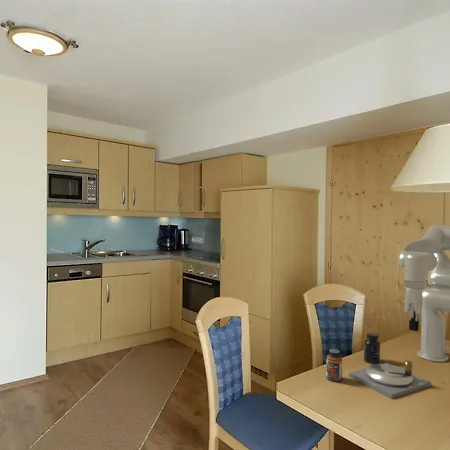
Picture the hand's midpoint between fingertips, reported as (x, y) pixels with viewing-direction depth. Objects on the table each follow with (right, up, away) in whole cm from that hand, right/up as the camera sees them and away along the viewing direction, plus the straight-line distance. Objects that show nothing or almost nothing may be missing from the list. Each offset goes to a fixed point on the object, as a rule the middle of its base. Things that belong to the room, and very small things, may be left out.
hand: (413, 330), depth 147 cm
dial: (-11, -17, -3) cm, 21 cm away
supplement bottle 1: (-32, -19, -1) cm, 38 cm away
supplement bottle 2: (-10, -19, +17) cm, 27 cm away
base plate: (-11, -19, -3) cm, 23 cm away
